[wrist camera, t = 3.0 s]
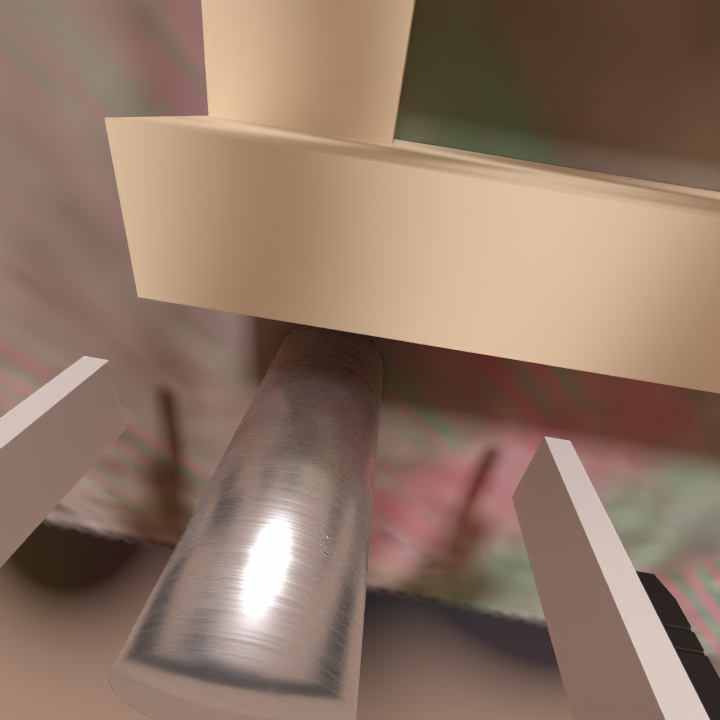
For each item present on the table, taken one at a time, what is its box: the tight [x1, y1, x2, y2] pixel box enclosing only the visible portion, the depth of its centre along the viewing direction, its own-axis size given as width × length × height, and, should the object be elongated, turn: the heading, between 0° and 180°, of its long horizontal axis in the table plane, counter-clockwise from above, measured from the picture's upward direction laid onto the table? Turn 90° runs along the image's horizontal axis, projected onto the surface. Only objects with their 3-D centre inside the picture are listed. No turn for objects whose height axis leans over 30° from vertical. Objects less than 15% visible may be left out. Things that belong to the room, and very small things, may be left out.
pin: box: [109, 325, 383, 720], centre depth 11 cm, size 4×4×10 cm
